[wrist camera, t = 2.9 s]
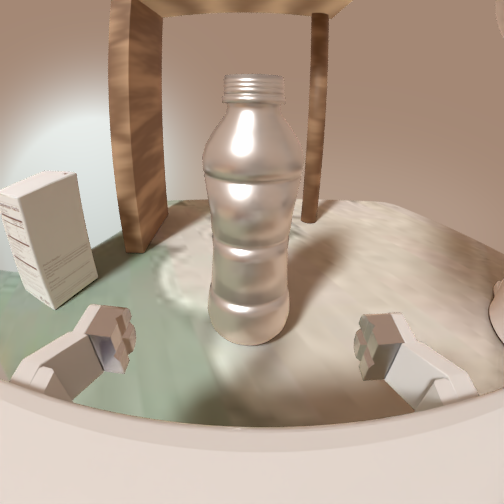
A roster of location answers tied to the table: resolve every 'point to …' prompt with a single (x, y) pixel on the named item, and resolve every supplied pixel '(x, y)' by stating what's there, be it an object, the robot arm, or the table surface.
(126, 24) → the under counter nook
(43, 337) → the table surface
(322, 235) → the table surface
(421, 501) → the robot arm
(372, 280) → the table surface
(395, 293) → the table surface
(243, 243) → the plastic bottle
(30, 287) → the supplement box
